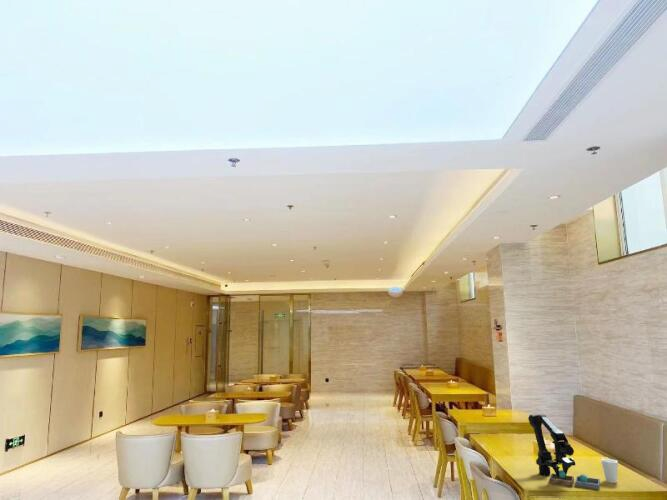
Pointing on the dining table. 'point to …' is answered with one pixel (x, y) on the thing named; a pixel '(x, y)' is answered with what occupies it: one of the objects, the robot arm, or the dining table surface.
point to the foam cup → (610, 469)
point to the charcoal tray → (588, 483)
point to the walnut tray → (562, 480)
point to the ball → (583, 478)
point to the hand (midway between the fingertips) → (561, 476)
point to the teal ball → (562, 474)
